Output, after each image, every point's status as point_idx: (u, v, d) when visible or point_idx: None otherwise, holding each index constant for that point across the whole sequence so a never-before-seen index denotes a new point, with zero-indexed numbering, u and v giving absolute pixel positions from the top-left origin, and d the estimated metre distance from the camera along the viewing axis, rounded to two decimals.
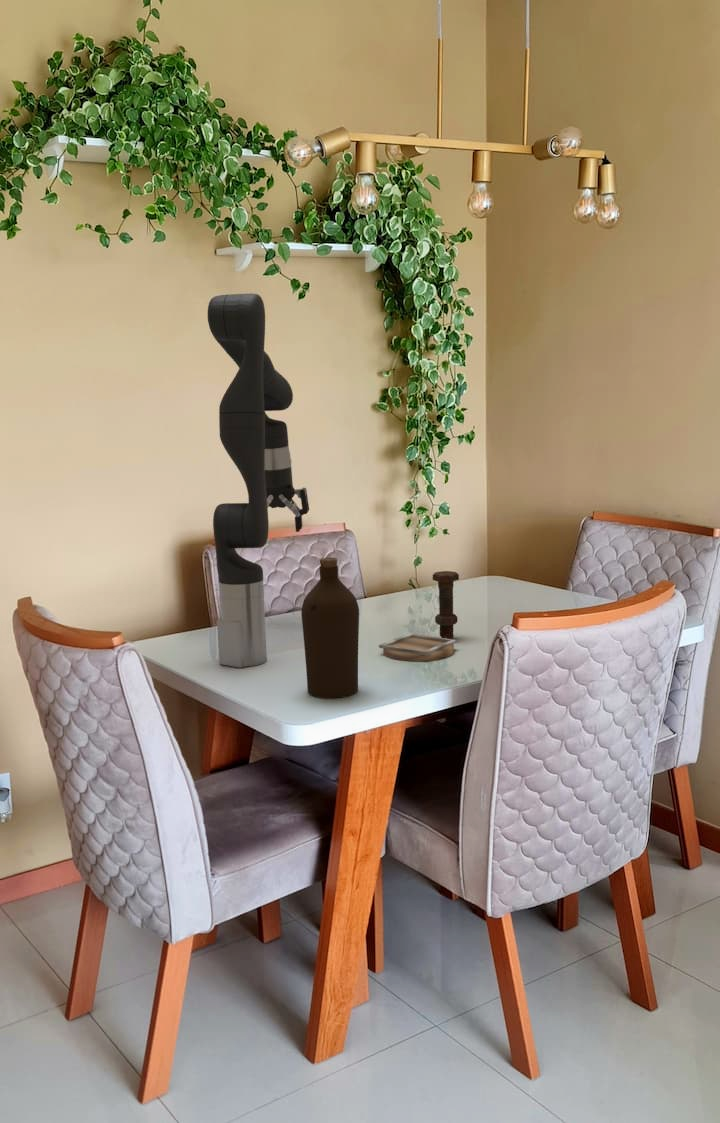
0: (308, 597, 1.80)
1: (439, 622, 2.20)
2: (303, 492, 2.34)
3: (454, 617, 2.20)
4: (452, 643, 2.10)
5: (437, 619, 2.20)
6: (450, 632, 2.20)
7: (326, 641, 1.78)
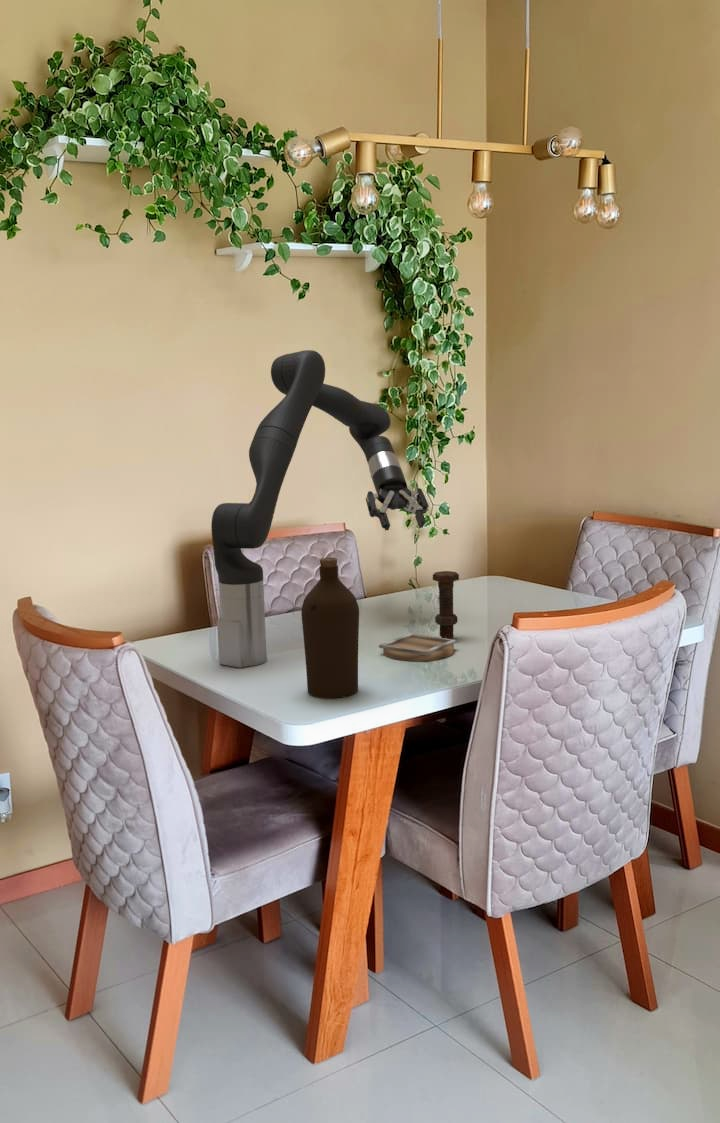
0: (308, 597, 1.80)
1: (439, 622, 2.20)
2: (420, 490, 2.37)
3: (454, 617, 2.20)
4: (452, 643, 2.10)
5: (437, 619, 2.20)
6: (450, 632, 2.20)
7: (326, 641, 1.78)
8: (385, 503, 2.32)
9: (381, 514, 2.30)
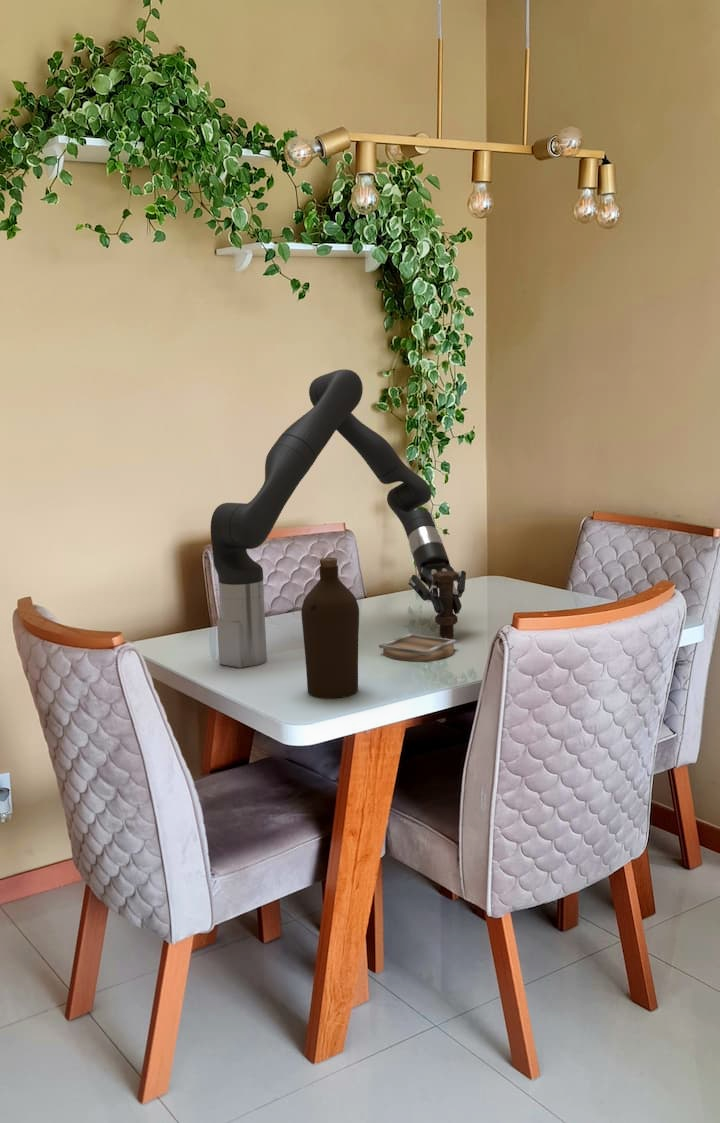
0: (308, 597, 1.80)
1: (439, 622, 2.20)
2: (464, 573, 2.25)
3: (454, 617, 2.20)
4: (452, 643, 2.10)
5: (437, 619, 2.20)
6: (450, 632, 2.20)
7: (326, 641, 1.78)
8: (435, 585, 2.20)
9: (434, 598, 2.19)
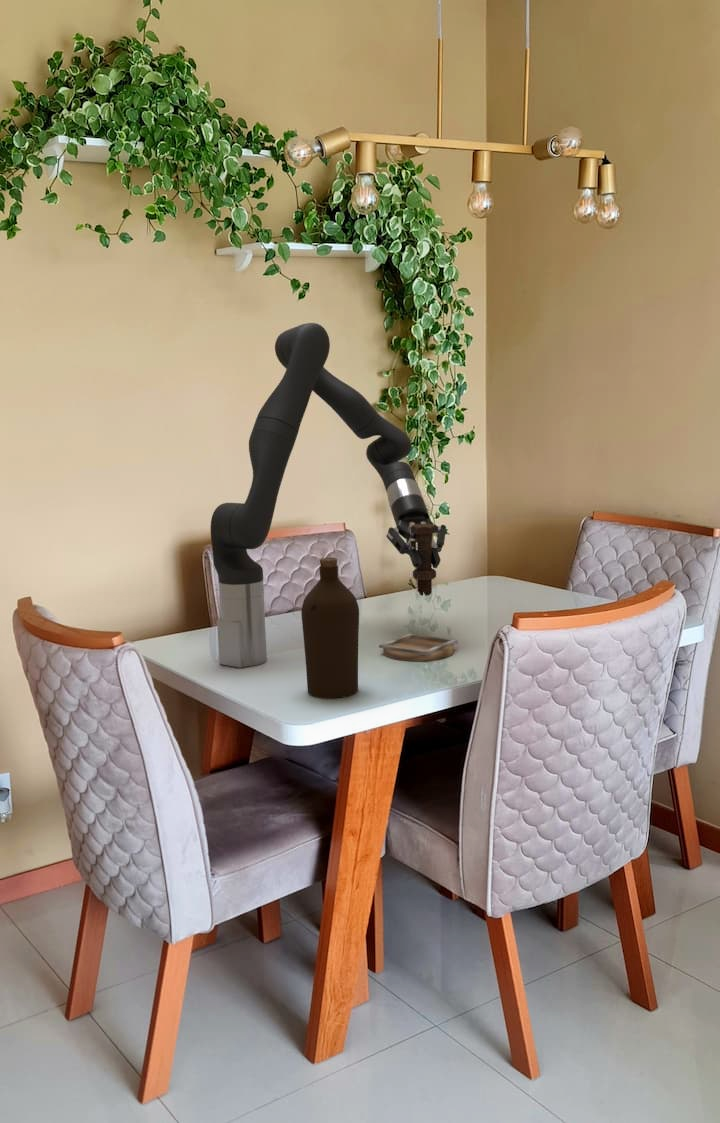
0: (308, 597, 1.80)
1: (416, 577, 2.10)
2: (444, 527, 2.15)
3: (432, 571, 2.10)
4: (452, 643, 2.10)
5: (415, 573, 2.11)
6: (428, 587, 2.10)
7: (326, 641, 1.78)
8: (413, 538, 2.11)
9: (412, 551, 2.10)
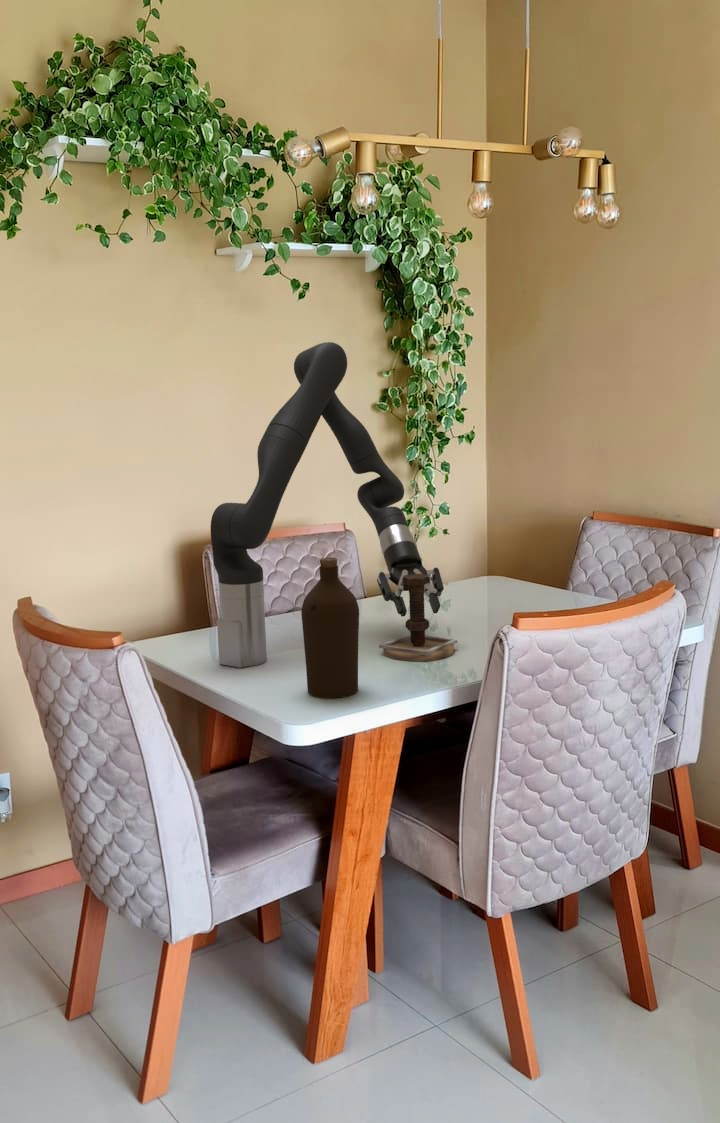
0: (308, 597, 1.80)
1: (409, 628, 2.09)
2: (437, 569, 2.14)
3: (425, 622, 2.09)
4: (452, 643, 2.10)
5: (407, 624, 2.09)
6: (421, 638, 2.09)
7: (326, 641, 1.78)
8: (400, 585, 2.09)
9: (397, 598, 2.08)
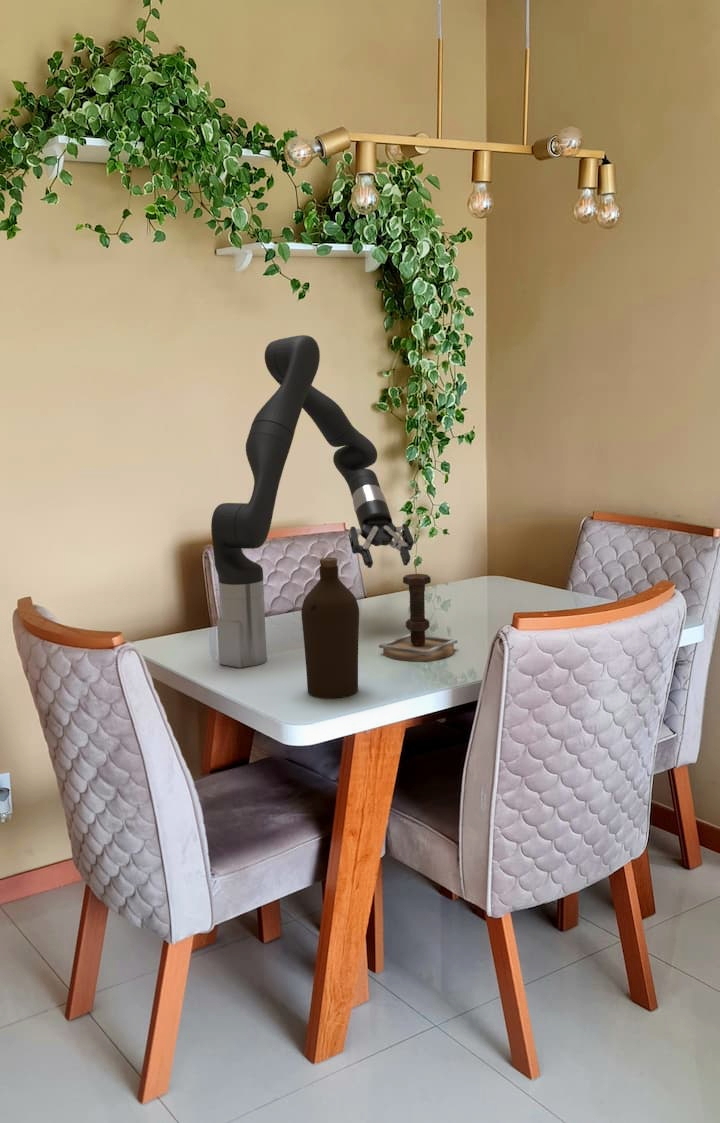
0: (308, 597, 1.80)
1: (409, 628, 2.09)
2: (406, 525, 2.27)
3: (425, 622, 2.09)
4: (452, 643, 2.10)
5: (408, 624, 2.09)
6: (421, 638, 2.09)
7: (326, 641, 1.78)
8: (368, 539, 2.22)
9: (364, 551, 2.20)
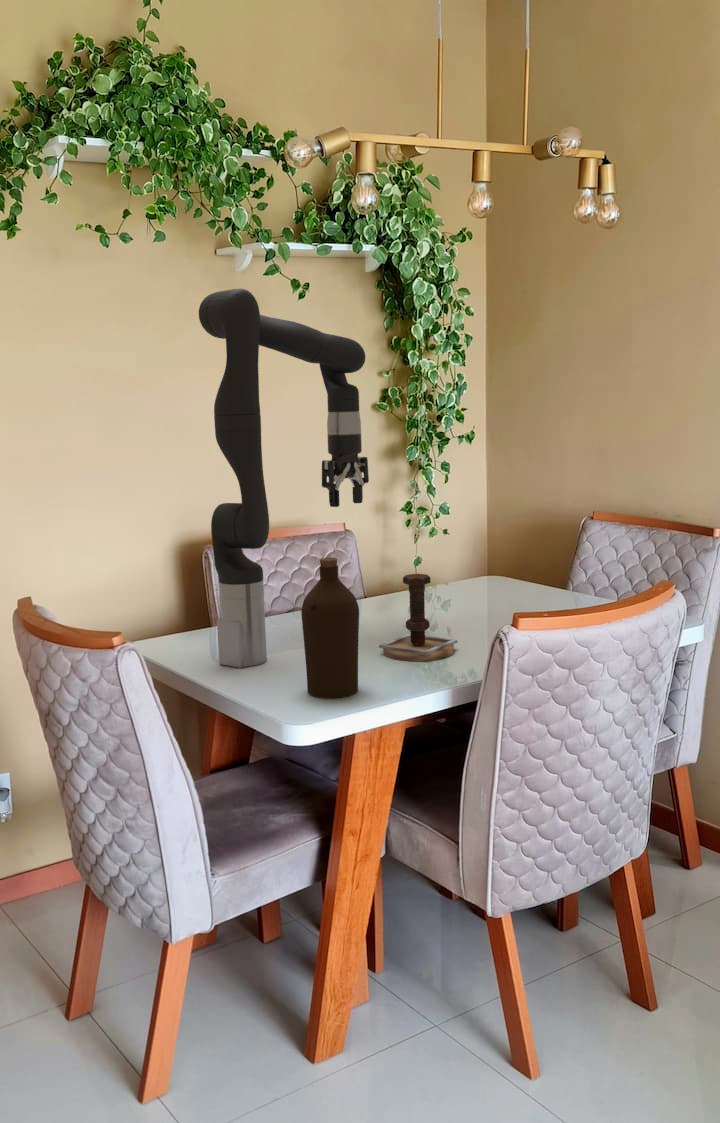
0: (308, 597, 1.80)
1: (409, 628, 2.09)
2: (366, 459, 2.26)
3: (425, 622, 2.09)
4: (452, 643, 2.10)
5: (408, 624, 2.09)
6: (421, 638, 2.09)
7: (326, 641, 1.78)
8: (341, 479, 2.18)
9: (334, 490, 2.18)
